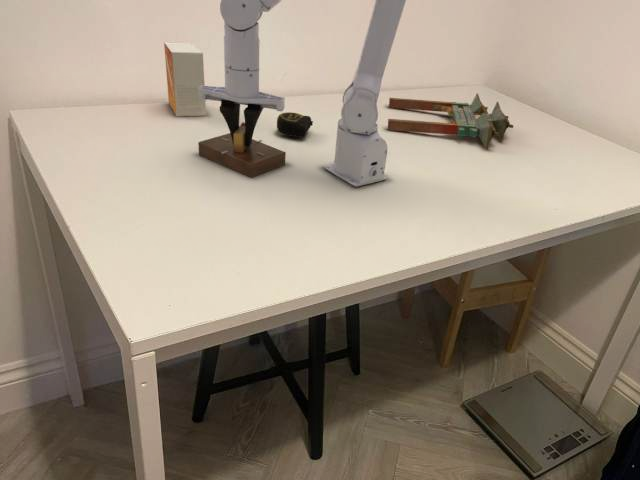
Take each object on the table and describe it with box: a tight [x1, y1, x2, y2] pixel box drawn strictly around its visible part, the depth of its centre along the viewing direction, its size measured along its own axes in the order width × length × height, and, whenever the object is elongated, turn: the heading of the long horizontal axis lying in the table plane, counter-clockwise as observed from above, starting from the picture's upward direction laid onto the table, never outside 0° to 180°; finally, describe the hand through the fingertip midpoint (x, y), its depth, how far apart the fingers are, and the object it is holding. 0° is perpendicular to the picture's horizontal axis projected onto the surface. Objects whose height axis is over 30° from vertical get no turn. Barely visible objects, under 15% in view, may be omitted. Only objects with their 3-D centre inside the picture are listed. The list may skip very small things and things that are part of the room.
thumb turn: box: [234, 121, 247, 153], centre depth 101 cm, size 6×2×4 cm, turn 178°
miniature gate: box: [387, 93, 514, 151], centre depth 137 cm, size 27×6×30 cm
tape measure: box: [276, 111, 314, 138], centre depth 118 cm, size 7×7×4 cm
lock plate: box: [198, 132, 287, 178], centre depth 103 cm, size 13×10×3 cm
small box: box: [163, 41, 207, 117], centre depth 118 cm, size 8×6×13 cm
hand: (242, 144), depth 102 cm, fingers closed on thumb turn, 2 cm apart
